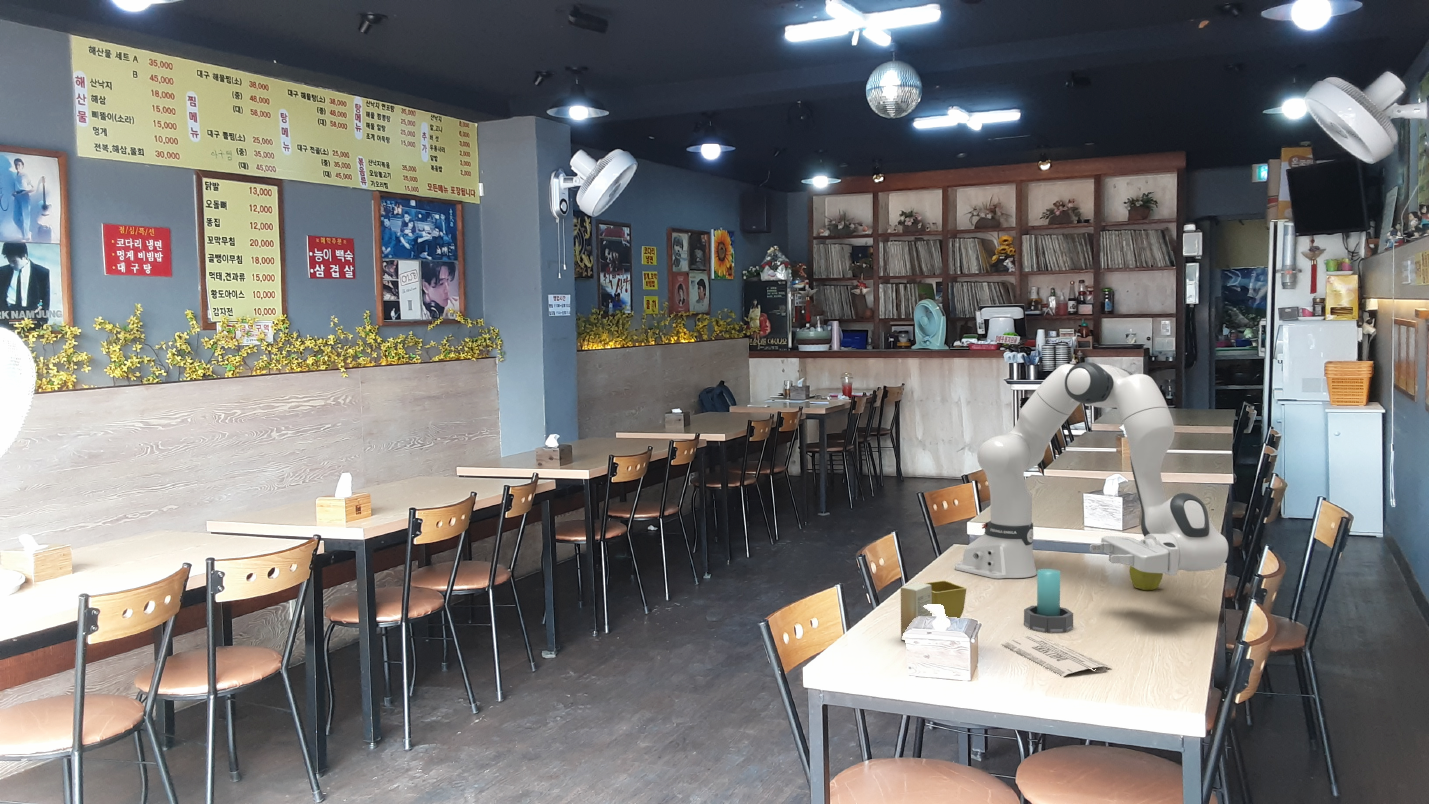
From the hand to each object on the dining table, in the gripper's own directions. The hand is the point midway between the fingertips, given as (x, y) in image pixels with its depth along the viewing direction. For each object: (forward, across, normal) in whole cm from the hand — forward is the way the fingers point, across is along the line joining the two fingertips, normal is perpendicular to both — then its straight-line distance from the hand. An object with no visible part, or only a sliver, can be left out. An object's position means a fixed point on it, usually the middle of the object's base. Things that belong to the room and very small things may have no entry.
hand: (1100, 553), depth 240 cm
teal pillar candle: (+12, +1, +16) cm, 20 cm away
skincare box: (+45, +7, +17) cm, 49 cm away
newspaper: (+20, +22, +17) cm, 34 cm away
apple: (-26, -28, +17) cm, 42 cm away
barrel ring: (+12, +1, +17) cm, 21 cm away
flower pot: (+36, -4, +17) cm, 40 cm away
